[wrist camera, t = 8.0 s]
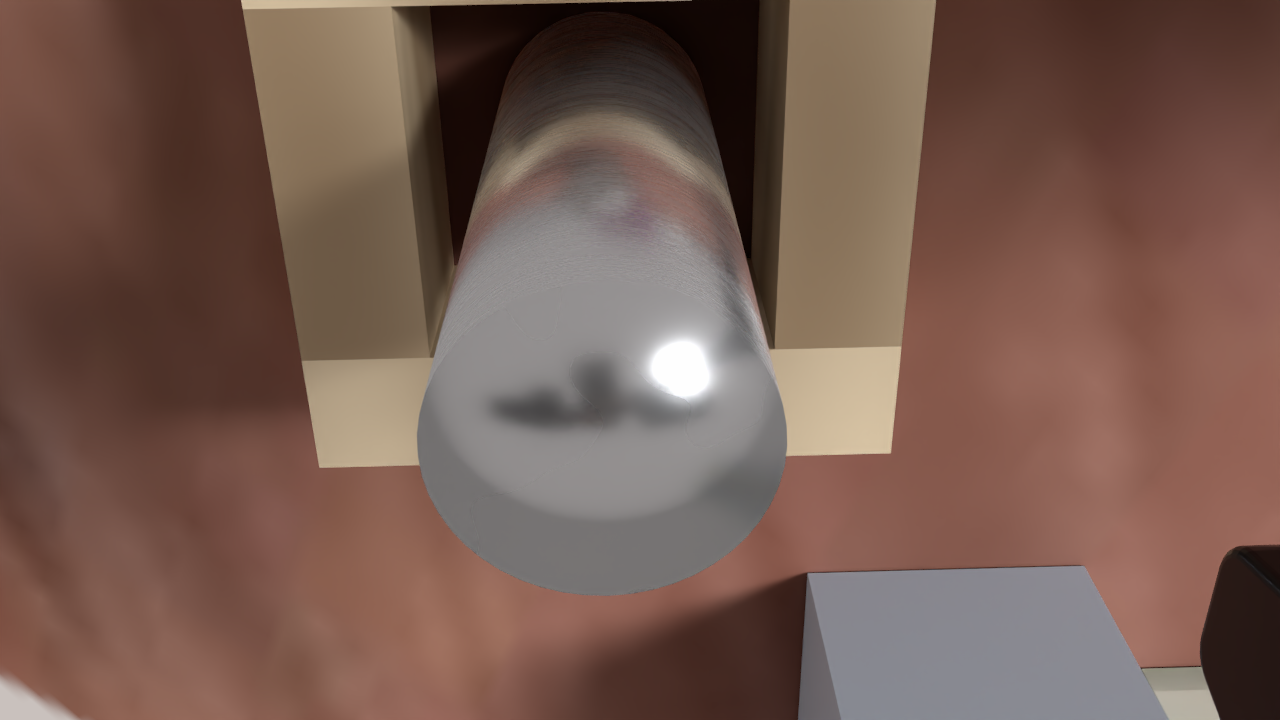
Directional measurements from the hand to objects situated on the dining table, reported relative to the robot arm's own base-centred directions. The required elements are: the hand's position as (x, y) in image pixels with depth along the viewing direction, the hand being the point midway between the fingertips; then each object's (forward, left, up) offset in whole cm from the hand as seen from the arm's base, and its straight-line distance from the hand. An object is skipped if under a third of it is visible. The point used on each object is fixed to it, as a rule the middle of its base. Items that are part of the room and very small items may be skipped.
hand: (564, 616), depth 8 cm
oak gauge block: (0, 0, -11) cm, 11 cm away
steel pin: (0, 0, -11) cm, 11 cm away
